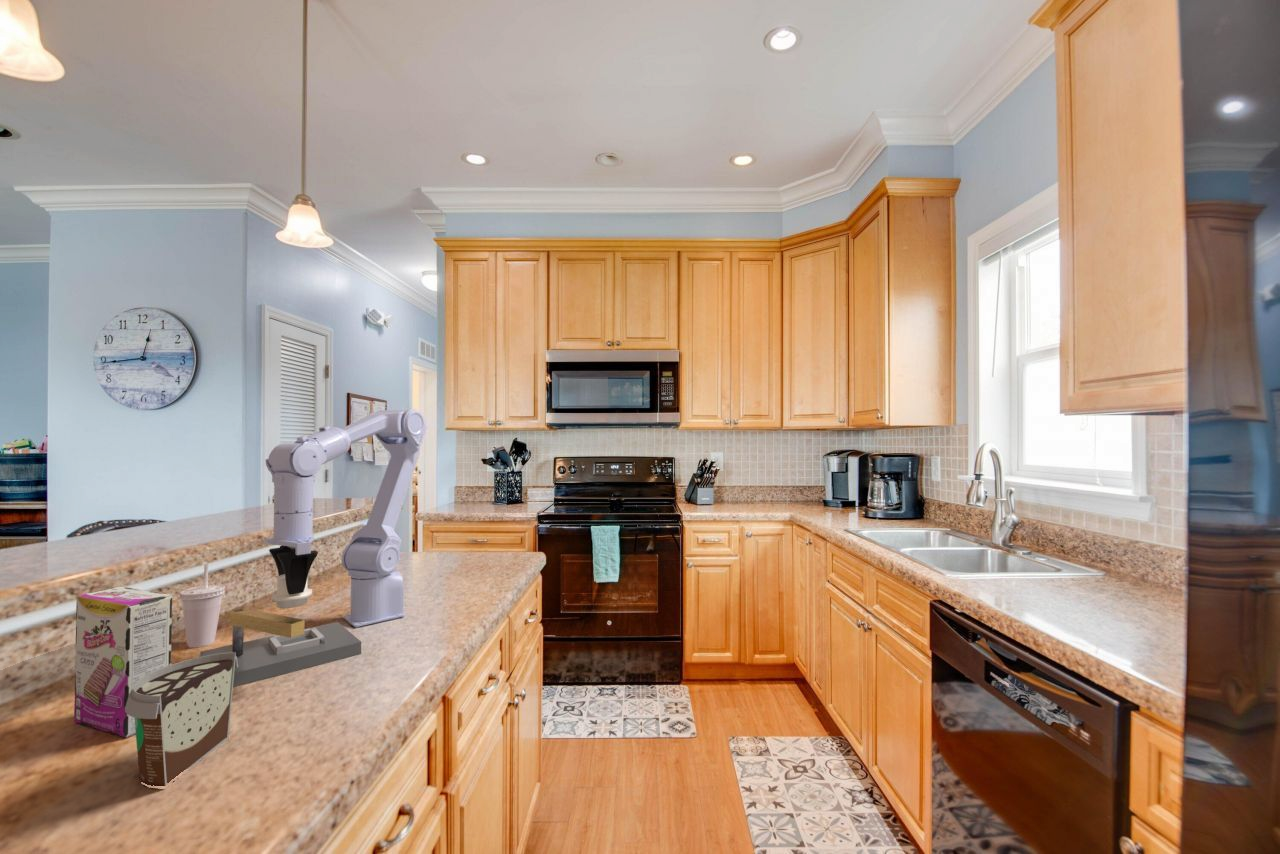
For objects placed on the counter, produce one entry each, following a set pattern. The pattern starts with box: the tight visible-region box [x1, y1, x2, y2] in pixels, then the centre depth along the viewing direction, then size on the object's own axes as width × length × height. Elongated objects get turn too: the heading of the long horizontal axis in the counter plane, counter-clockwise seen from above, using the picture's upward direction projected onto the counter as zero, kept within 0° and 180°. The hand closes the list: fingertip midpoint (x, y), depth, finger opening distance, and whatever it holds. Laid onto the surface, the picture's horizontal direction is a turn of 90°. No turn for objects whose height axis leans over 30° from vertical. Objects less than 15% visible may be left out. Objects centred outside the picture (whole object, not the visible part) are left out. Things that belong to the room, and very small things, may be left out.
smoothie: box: [178, 563, 226, 649], centre depth 94 cm, size 6×6×14 cm
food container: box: [125, 652, 238, 786], centre depth 59 cm, size 12×6×10 cm, turn 5°
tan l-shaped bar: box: [228, 607, 306, 657], centre depth 80 cm, size 15×2×7 cm, turn 67°
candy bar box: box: [73, 586, 173, 738], centre depth 67 cm, size 11×5×16 cm, turn 71°
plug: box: [271, 574, 313, 609], centre depth 91 cm, size 6×6×5 cm
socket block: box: [199, 621, 362, 688], centre depth 87 cm, size 20×14×3 cm
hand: (292, 590), depth 91 cm, fingers closed on plug, 4 cm apart
